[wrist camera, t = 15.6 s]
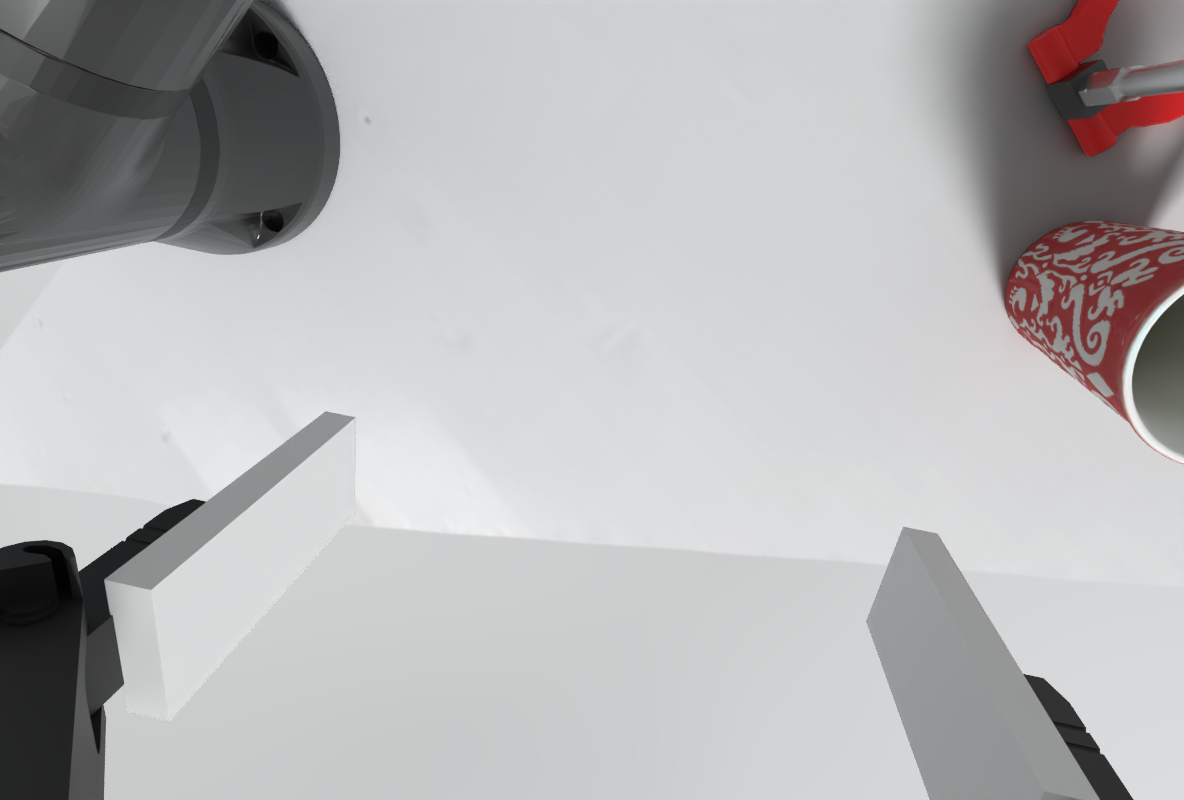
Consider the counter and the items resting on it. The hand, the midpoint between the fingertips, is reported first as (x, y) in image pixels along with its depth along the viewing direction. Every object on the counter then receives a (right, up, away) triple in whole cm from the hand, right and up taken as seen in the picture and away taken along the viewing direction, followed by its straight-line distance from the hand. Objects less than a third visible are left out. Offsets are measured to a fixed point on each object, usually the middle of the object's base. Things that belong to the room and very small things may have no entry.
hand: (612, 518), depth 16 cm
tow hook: (+27, +21, +17) cm, 38 cm away
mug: (+28, +10, +21) cm, 36 cm away
